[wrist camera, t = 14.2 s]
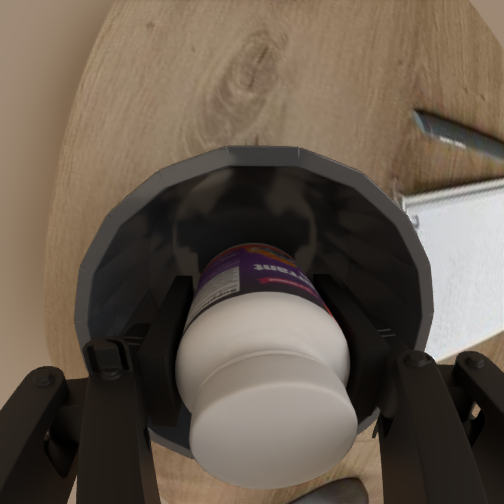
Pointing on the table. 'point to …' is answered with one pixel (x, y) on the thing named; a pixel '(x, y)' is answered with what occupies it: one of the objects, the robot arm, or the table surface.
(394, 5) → the table surface
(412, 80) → the table surface
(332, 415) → the pill bottle
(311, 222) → the canister
